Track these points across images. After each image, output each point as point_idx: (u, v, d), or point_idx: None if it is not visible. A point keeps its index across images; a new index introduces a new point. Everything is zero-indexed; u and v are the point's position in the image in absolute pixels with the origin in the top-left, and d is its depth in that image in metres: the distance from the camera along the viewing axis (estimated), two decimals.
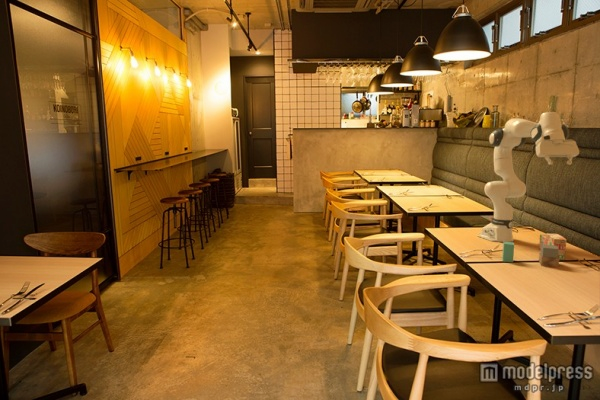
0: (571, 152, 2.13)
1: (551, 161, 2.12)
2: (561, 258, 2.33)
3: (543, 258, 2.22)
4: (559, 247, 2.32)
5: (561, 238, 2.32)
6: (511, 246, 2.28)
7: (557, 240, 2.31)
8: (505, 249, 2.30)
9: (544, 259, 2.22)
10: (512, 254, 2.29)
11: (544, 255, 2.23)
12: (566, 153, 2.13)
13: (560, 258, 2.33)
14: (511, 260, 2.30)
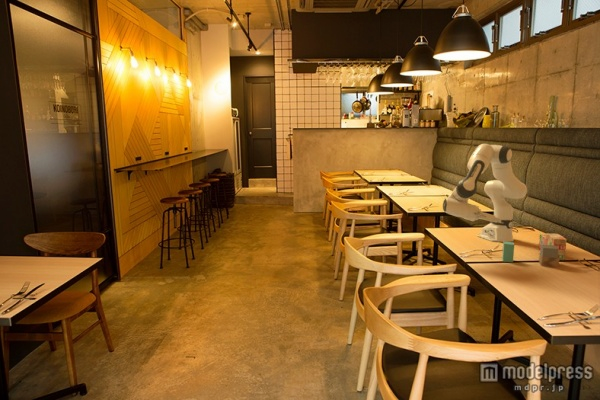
0: None
1: None
2: (561, 258, 2.33)
3: (543, 258, 2.22)
4: (559, 247, 2.32)
5: (561, 238, 2.33)
6: (511, 246, 2.28)
7: (557, 240, 2.32)
8: (505, 249, 2.30)
9: (544, 259, 2.22)
10: (512, 254, 2.29)
11: (544, 255, 2.22)
12: None
13: (560, 258, 2.33)
14: (511, 260, 2.30)
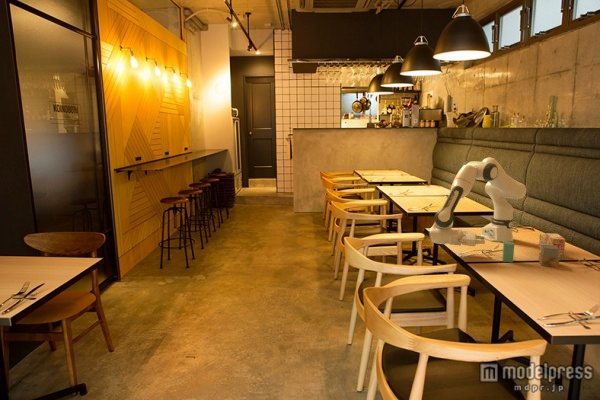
0: None
1: None
2: (560, 258, 2.33)
3: (543, 258, 2.22)
4: (558, 247, 2.32)
5: (560, 238, 2.33)
6: (511, 246, 2.28)
7: (556, 240, 2.32)
8: (505, 249, 2.30)
9: (544, 259, 2.22)
10: (512, 254, 2.29)
11: (544, 255, 2.22)
12: None
13: (559, 258, 2.33)
14: (511, 260, 2.30)
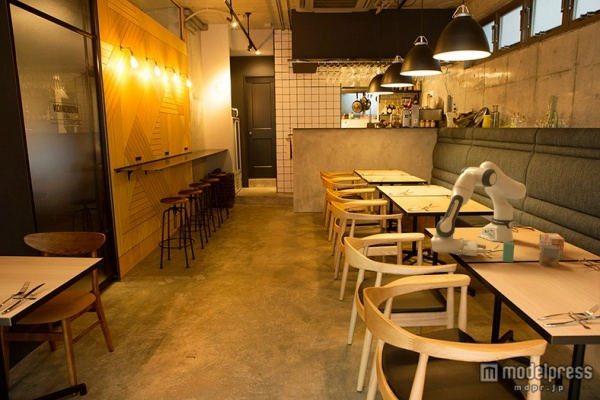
0: None
1: None
2: (559, 258, 2.33)
3: (543, 258, 2.22)
4: None
5: (559, 238, 2.33)
6: (511, 246, 2.28)
7: (555, 240, 2.32)
8: (505, 249, 2.30)
9: (544, 259, 2.22)
10: (512, 254, 2.29)
11: (544, 255, 2.22)
12: None
13: None
14: (511, 260, 2.30)
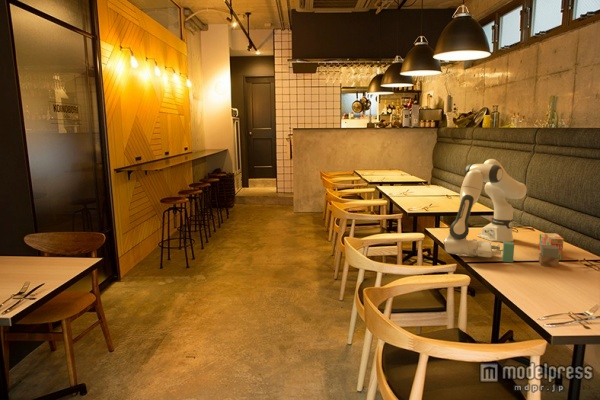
0: None
1: None
2: None
3: (543, 258, 2.23)
4: None
5: (558, 238, 2.33)
6: (511, 246, 2.28)
7: (554, 240, 2.32)
8: (505, 249, 2.30)
9: (544, 259, 2.22)
10: (512, 254, 2.29)
11: (544, 255, 2.22)
12: None
13: None
14: (511, 260, 2.30)
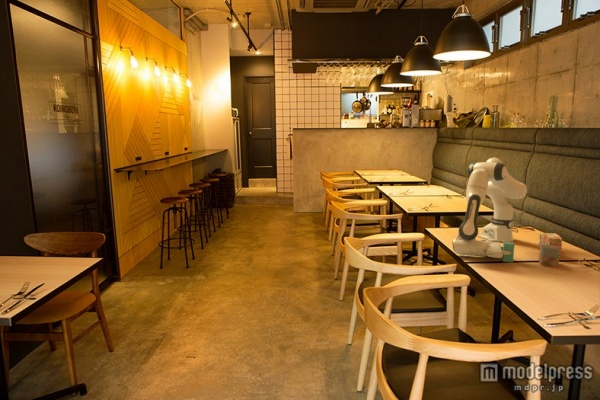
0: None
1: None
2: None
3: (543, 258, 2.23)
4: None
5: (557, 238, 2.33)
6: (511, 246, 2.28)
7: (553, 239, 2.33)
8: (505, 249, 2.30)
9: (544, 259, 2.22)
10: (512, 254, 2.29)
11: (544, 255, 2.23)
12: None
13: None
14: (511, 260, 2.30)
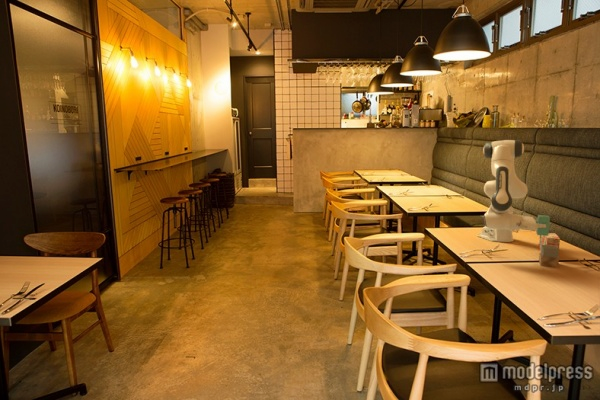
0: None
1: None
2: None
3: (543, 258, 2.22)
4: None
5: (555, 237, 2.34)
6: (546, 219, 2.20)
7: (550, 239, 2.34)
8: (540, 222, 2.22)
9: (544, 259, 2.22)
10: (547, 227, 2.21)
11: (545, 255, 2.22)
12: None
13: None
14: (546, 233, 2.21)
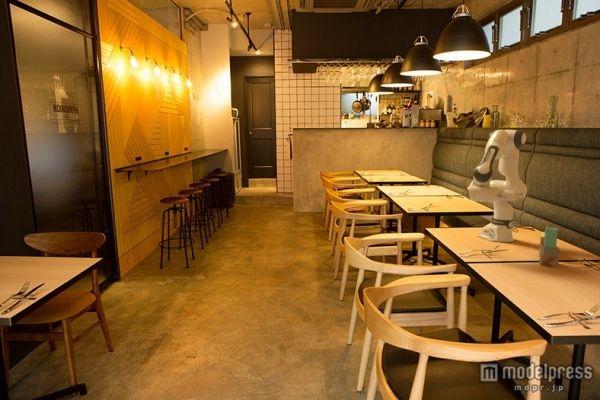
0: None
1: None
2: None
3: (542, 258, 2.23)
4: None
5: None
6: (554, 232, 2.20)
7: None
8: (548, 234, 2.21)
9: (543, 258, 2.23)
10: (555, 240, 2.20)
11: (545, 255, 2.22)
12: None
13: None
14: (554, 246, 2.21)
